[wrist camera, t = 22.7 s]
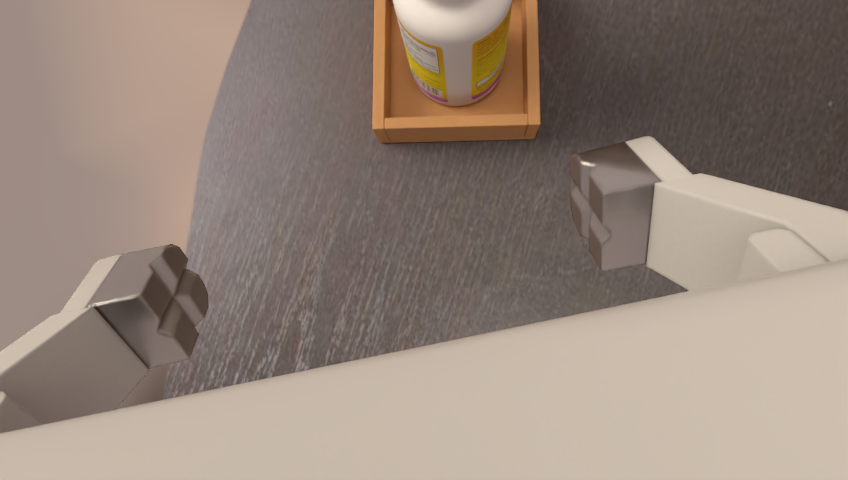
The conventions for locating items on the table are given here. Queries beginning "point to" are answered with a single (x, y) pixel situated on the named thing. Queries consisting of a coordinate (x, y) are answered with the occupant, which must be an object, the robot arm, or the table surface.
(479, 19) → the supplement bottle
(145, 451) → the robot arm
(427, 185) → the table surface
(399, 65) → the open wooden box
